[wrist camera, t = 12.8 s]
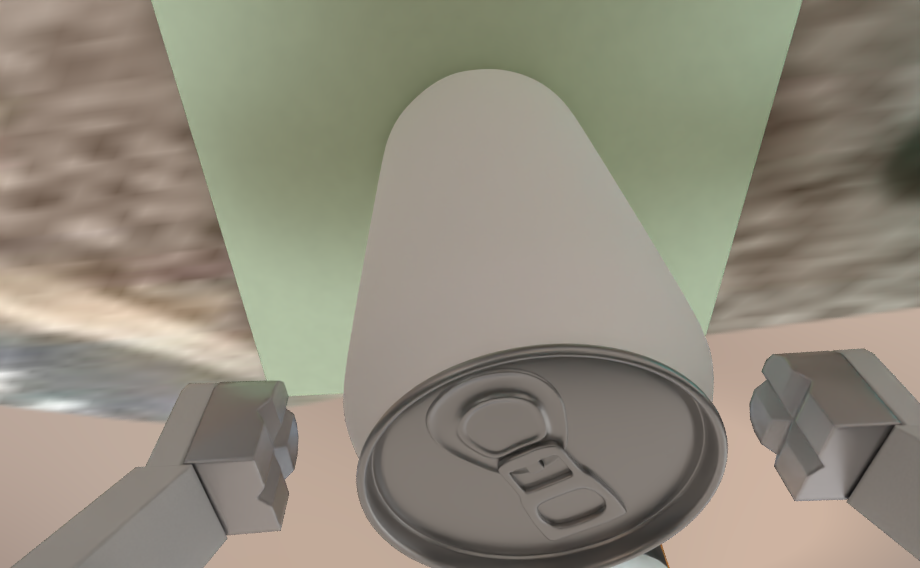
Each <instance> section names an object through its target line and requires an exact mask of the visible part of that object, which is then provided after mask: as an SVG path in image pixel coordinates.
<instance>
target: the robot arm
mask: <svg viewBox="0 0 920 568" xmlns="http://www.w3.org/2000/svg"><path fill="white" fill-rule="evenodd" d="M762 373H763V374H764V376H765V378H766V379H767V380H766V381H765V382H763V383H762V384H761V385H760V386H758V387H757V388H756V389H755V390H754V392H753V395H752V398H751V401H750V420H751V423H752V426H753V429H754V432H755V433H756V435H757V437H758V439H759V441H760V443H761V444H762V445H764V446H765V447H767V448H768V449H770V450H771V451H772V452H774V453H775V454H777V456H776V460H775V464H774V467H775V469H776V470H777V472H778V473H779V475H780V477H781V479H782V480H783V482H784V484H785V486H786V487H787V489H788V491H789V492H790V494H791V496H792V497H793V499H794V501H811V500H812V501H813V500H843V499H848V500H847V503H848V504H850V505H851V506H852V507H853V508H854V509H856V510H857V511H858V512H859V513H861V514H862V515H863V516H864V517H866V518H867V519H868V520H869V521H871V522H872V523H873V524H875V525H876V526H877V527H878V528H879V529H881V530H882V531H883V532H884V533H886V534H887V535H888V536H889V537H890V538H892V539H893V540H894V541H896V542H897V543H898V544H899V545H901V546H902V547H903V548H904V549H905V550H907V551H908V552H909V553H911V554H912V555H913V556H914V557H915V558H917V559H918V560H919V561H920V403H919V402H918V401H917V400H916V399H915V398H914V397H913V396H912V394H911V393H910V392H909V391H908V390H907V389H906V388H905V387H904V386H903V385H902V384H901V382H900V381H899V380H898V379H897V378H896V377H895V376H894V375H893V374H892V373H891V372H890V371H889V370H888V369H887V368H886V366H885V365H884V364H883V363H882V362H881V361H880V360H879V359H878V358H877V357H876V356H875V354H873V353H872V352H870V351H868V350H866V349H849V350H834V351H818V352H801V353H785V354H773V355H772V356H770V357H769V358H768V359H767V360H766V362H765V365H764V367H763V369H762ZM288 397H289V395H288V392H287V390H286V387H285V384H284V382H282V381H280V380H276V381H240V382H220V383H189V384H188V385H187V386H186V387H185V388H184V389H183V390H182V391H181V393H180V395H179V397H178V399H177V401H176V403H175V405H174V407H173V409H172V412H171V414H170V416H169V418H168V420H167V422H166V424H165V427H164V429H163V431H162V433H161V435H160V437H159V439H158V441H157V443H156V445H155V448H154V449H153V451H152V454H151V456H150V458H149V460H148V462H147V464H146V466H145V467H136V468H134V469H133V470H132V471H130V472H129V473H128V474H127V475H125V476H124V477H123V478H122V479H121V480H119V481H118V482H117V483H115V484H114V485H113V486H112V487H111V488H109V489H108V490H107V491H105V492H104V493H103V494H102V495H100V496H99V497H98V498H97V499H96V500H94V501H93V502H92V503H91V504H89V505H88V506H87V507H86V508H84V509H83V510H82V511H81V512H79V513H78V514H77V515H76V516H74V517H73V518H72V519H71V520H69V521H68V522H67V523H66V524H64V525H63V526H62V527H61V528H59V529H58V530H57V531H56V532H54V533H53V534H52V535H51V536H49V537H48V538H47V539H46V540H44V541H43V542H42V543H41V544H39V545H38V546H37V547H36V548H34V549H33V550H32V551H31V552H29V553H28V554H27V555H26V556H24V557H23V558H22V559H21V560H19V561H18V562H17V563H16V564H14V565H13V566H12V567H11V568H203V567H204V566H205V565H206V564H207V563H208V561H209V560H210V559H211V558H212V557H213V555H214V554H215V553H216V552H217V551H218V549H219V548H220V547H221V546H222V544H223V543H224V542H225V541H226V540H227V536H226V535H236V534H248V533H260V532H271V531H281V527H282V522H283V518H284V514H285V509H286V505H287V501H288V496H289V491H288V488H287V485H286V483H285V479H286V478H287V477H288V476H289V475H290V474H291V473H292V472H293V471H294V469H295V464H296V459H297V454H298V430H297V423H296V420H295V416H294V414H293V413H292V412H290V411H289V410H287V409H286V405H287V401H288Z"/></svg>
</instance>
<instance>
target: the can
mask: <svg viewBox="0 0 920 568" xmlns="http://www.w3.org/2000/svg"><path fill="white" fill-rule="evenodd" d="M713 384H714V377H713V364H712V358H711V352H710V349H709V346H708V343H707V340H706V338H705V335H704V333H703V330H702V328H701V326H700V323H699V321H698V320H697V318H696V316H695V314H694V312H693V310H692V309H691V307H690V305H689V303H688V301H687V299H686V298H685V296H684V294H683V292H682V291H681V289H680V287H679V286H678V284H677V282H676V281H675V279H674V277H673V276H672V274H671V272H670V271H669V269H668V267H667V265H666V264H665V262H664V260H663V259H662V257H661V256H660V254H659V252H658V251H657V249H656V247H655V246H654V244H653V242H652V241H651V239H650V237H649V236H648V234H647V232H646V231H645V229H644V227H643V226H642V224H641V222H640V221H639V219H638V218H637V216H636V214H635V213H634V211H633V209H632V208H631V206H630V205H629V203H628V201H627V200H626V198H625V196H624V195H623V193H622V191H621V190H620V188H619V187H618V185H617V183H616V182H615V180H614V178H613V177H612V175H611V174H610V172H609V170H608V169H607V167H606V165H605V164H604V162H603V161H602V159H601V157H600V156H599V154H598V152H597V151H596V149H595V148H594V146H593V144H592V143H591V141H590V140H589V138H588V136H587V135H586V133H585V132H584V130H583V128H582V127H581V125H580V124H579V122H578V121H577V119H576V118H575V116H574V115H573V113H572V112H571V111H570V109H569V108H568V107H567V105H566V104H565V103H564V102H563V101H562V100H561V99H560V98H559V97H558V96H557V95H556V94H555V93H554V92H553V91H551V90H550V89H549V88H548V87H546V86H545V85H543V84H542V83H540V82H538V81H536V80H534V79H532V78H530V77H528V76H525V75H522V74H519V73H516V72H511V71H506V70H499V69H477V70H469V71H463V72H458V73H455V74H452V75H449V76H447V77H445V78H443V79H441V80H439V81H437V82H436V83H434V84H432V85H431V86H429V87H428V88H427V89H425V90H424V91H423V92H422V93H421V94H419V95H418V96H417V97H416V98H415V99H414V100H413V101H412V102H411V103H410V104H409V105H408V106H407V107H406V109H405V110H404V111H403V112H402V114H401V115H400V116H399V118H398V119H397V121H396V122H395V124H394V126H393V128H392V130H391V133H390V135H389V138H388V140H387V143H386V147H385V151H384V155H383V160H382V165H381V170H380V175H379V180H378V186H377V191H376V196H375V202H374V207H373V213H372V218H371V224H370V229H369V235H368V240H367V246H366V251H365V257H364V262H363V268H362V274H361V279H360V285H359V291H358V297H357V302H356V308H355V314H354V319H353V325H352V331H351V338H350V344H349V350H348V356H347V363H346V371H345V379H344V395H343V406H344V416H345V422H346V426H347V429H348V433H349V436H350V439H351V442H352V444H353V447H354V449H355V452H356V454H357V456H358V458H359V461H358V466H357V475H356V477H357V478H356V482H357V483H356V484H357V492H358V497H359V501H360V504H361V506H362V509H363V511H364V513H365V515H366V517H367V519H368V520H369V522H370V524H371V525H372V526H373V527H374V529H375V530H376V531H377V532H378V534H379V535H380V536H381V537H382V538H383V539H384V540H386V541H387V542H388V543H389V544H390V545H391V546H393V547H394V548H395V549H397V550H398V551H400V552H401V553H403V554H404V555H406V556H408V557H409V558H411V559H413V560H415V561H417V562H419V563H421V564H424V565H426V566H429V567H431V568H610V567H613V566H616V565H619V564H621V563H624V562H627V561H629V560H631V559H634V558H636V557H638V556H640V555H642V554H644V553H646V552H648V551H650V550H652V549H654V548H656V547H657V546H659V545H661V544H662V543H664V542H665V541H667V540H669V539H670V538H671V537H673V536H674V535H676V534H677V533H678V532H680V531H681V530H682V529H683V528H685V527H686V526H687V525H688V524H689V523H690V522H691V521H693V519H695V518H696V516H698V514H699V513H700V512H701V511H702V510H703V509H704V508H705V506H706V505H707V504H708V503H709V501H710V500H711V498H712V497H713V495H714V494H715V492H716V490H717V488H718V486H719V484H720V482H721V479H722V477H723V474H724V471H725V467H726V462H727V453H728V445H727V444H728V443H727V436H726V431H725V427H724V425H723V422H722V419H721V417H720V415H719V413H718V411H717V409H716V408H715V406H714V405H713V403H712V402H713Z"/></svg>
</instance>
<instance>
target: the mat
mask: <svg viewBox="0 0 920 568" xmlns="http://www.w3.org/2000/svg"><path fill="white" fill-rule="evenodd" d="M151 2H152V5H153V8H154V12H155V15H156V18H157V21H158V25H159V28H160V31H161V35H162V38H163V41H164V45H165V48H166V51H167V54H168V58H169V61H170V64H171V68H172V71H173V74H174V77H175V81H176V84H177V87H178V91H179V94H180V97H181V100H182V104H183V107H184V110H185V114H186V117H187V120H188V124H189V127H190V130H191V133H192V137H193V140H194V143H195V147H196V150H197V153H198V156H199V160H200V163H201V166H202V170H203V173H204V176H205V179H206V183H207V186H208V189H209V193H210V196H211V199H212V203H213V206H214V209H215V212H216V216H217V219H218V222H219V226H220V229H221V232H222V235H223V239H224V242H225V245H226V249H227V252H228V255H229V259H230V262H231V265H232V268H233V272H234V275H235V278H236V282H237V285H238V288H239V291H240V295H241V298H242V301H243V305H244V308H245V311H246V314H247V318H248V321H249V324H250V328H251V331H252V334H253V338H254V341H255V344H256V347H257V351H258V354H259V357H260V361H261V364H262V367H263V370H264V374H265V377H266V380H267V381H276V380H280V381H282V382H284V384H285V387H286V390H287V392H288V395H289V396H304V395H325V394H344V379H345V371H346V363H347V356H348V350H349V344H350V338H351V331H352V325H353V319H354V314H355V308H356V302H357V297H358V291H359V285H360V279H361V274H362V268H363V262H364V257H365V251H366V246H367V240H368V235H369V229H370V224H371V218H372V213H373V207H374V202H375V196H376V191H377V186H378V180H379V175H380V170H381V165H382V160H383V155H384V151H385V147H386V143H387V140H388V138H389V135H390V133H391V130H392V128H393V126H394V124H395V122H396V121H397V119H398V118H399V116H400V115H401V114H402V112H403V111H404V110H405V109H406V107H407V106H408V105H409V104H410V103H411V102H412V101H413V100H414V99H415V98H416V97H417V96H418V95H419V94H421V93H422V92H423V91H424V90H425V89H427V88H428V87H429V86H431V85H432V84H434V83H436V82H437V81H439V80H441V79H443V78H445V77H447V76H449V75H452V74H455V73H458V72H463V71H469V70H477V69H499V70H506V71H511V72H516V73H519V74H522V75H525V76H528V77H530V78H532V79H534V80H536V81H538V82H540V83H542V84H543V85H545V86H546V87H548V88H549V89H550V90H551V91H553V92H554V93H555V94H556V95H557V96H558V97H559V98H560V99H561V100H562V101H563V102H564V103H565V104H566V105H567V107H568V108H569V109H570V111H571V112H572V113H573V115H574V116H575V118H576V119H577V121H578V122H579V124H580V125H581V127H582V128H583V130H584V132H585V133H586V135H587V136H588V138H589V140H590V141H591V143H592V144H593V146H594V148H595V149H596V151H597V152H598V154H599V156H600V157H601V159H602V161H603V162H604V164H605V165H606V167H607V169H608V170H609V172H610V174H611V175H612V177H613V178H614V180H615V182H616V183H617V185H618V187H619V188H620V190H621V191H622V193H623V195H624V196H625V198H626V200H627V201H628V203H629V205H630V206H631V208H632V209H633V211H634V213H635V214H636V216H637V218H638V219H639V221H640V222H641V224H642V226H643V227H644V229H645V231H646V232H647V234H648V236H649V237H650V239H651V241H652V242H653V244H654V246H655V247H656V249H657V251H658V252H659V254H660V256H661V257H662V259H663V260H664V262H665V264H666V265H667V267H668V269H669V271H670V272H671V274H672V276H673V277H674V279H675V281H676V282H677V284H678V286H679V287H680V289H681V291H682V292H683V294H684V296H685V298H686V299H687V301H688V303H689V305H690V307H691V309H692V310H693V312H694V314H695V316H696V318H697V320H698V321H699V323H700V326H701V328H702V330H703V333H704V335H705V336H706V333H707V329H708V326H709V322H710V319H711V315H712V312H713V308H714V305H715V302H716V298H717V295H718V291H719V288H720V284H721V281H722V277H723V274H724V270H725V267H726V263H727V260H728V257H729V253H730V250H731V246H732V243H733V239H734V236H735V232H736V229H737V225H738V222H739V218H740V215H741V211H742V208H743V205H744V201H745V198H746V194H747V191H748V187H749V184H750V180H751V177H752V173H753V170H754V166H755V163H756V160H757V156H758V153H759V149H760V146H761V142H762V139H763V135H764V132H765V128H766V125H767V121H768V118H769V115H770V111H771V108H772V104H773V101H774V97H775V94H776V90H777V87H778V83H779V80H780V76H781V73H782V69H783V66H784V63H785V59H786V56H787V52H788V49H789V45H790V42H791V38H792V35H793V31H794V28H795V24H796V21H797V18H798V14H799V11H800V7H801V4H802V0H151Z"/></svg>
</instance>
